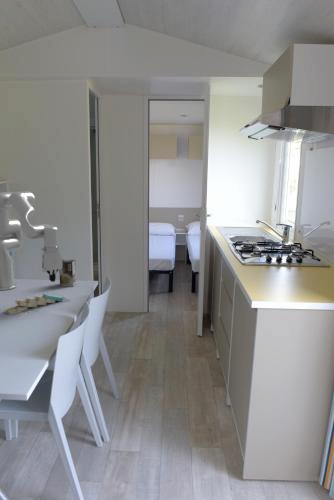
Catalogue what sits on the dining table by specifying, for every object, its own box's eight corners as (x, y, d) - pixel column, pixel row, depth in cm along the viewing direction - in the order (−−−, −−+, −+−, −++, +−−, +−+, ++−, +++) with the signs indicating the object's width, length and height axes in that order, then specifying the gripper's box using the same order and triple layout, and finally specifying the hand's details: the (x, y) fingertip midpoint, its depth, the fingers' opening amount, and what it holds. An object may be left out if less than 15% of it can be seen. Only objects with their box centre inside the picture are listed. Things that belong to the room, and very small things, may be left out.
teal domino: (58, 298, 216) (42, 296, 210) (59, 295, 217) (43, 293, 210) (62, 301, 213) (46, 299, 206) (63, 298, 213) (47, 295, 206)
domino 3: (41, 303, 210) (24, 300, 203) (42, 299, 210) (25, 297, 203) (45, 305, 206) (28, 303, 199) (46, 302, 206) (29, 299, 199)
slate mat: (19, 307, 204) (19, 306, 204) (63, 297, 221) (63, 296, 221) (25, 312, 197) (25, 311, 197) (71, 301, 214) (71, 300, 214)
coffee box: (76, 283, 246) (75, 259, 243) (73, 286, 240) (72, 262, 236) (63, 283, 247) (62, 259, 243) (59, 286, 241) (58, 261, 237)
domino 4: (50, 300, 213) (33, 298, 206) (51, 297, 213) (34, 295, 206) (54, 303, 210) (37, 301, 203) (55, 300, 210) (38, 297, 203)
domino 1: (23, 307, 203) (4, 312, 197) (23, 303, 203) (4, 309, 197) (27, 309, 200) (8, 315, 193) (27, 306, 199) (7, 311, 193)
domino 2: (32, 305, 207) (15, 302, 200) (33, 301, 207) (16, 299, 200) (36, 307, 203) (18, 305, 196) (37, 304, 203) (19, 302, 196)
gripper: (41, 252, 198) (42, 285, 202) (67, 248, 208) (68, 280, 212) (35, 249, 203) (36, 281, 208) (60, 246, 213) (61, 277, 217)
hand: (52, 280), depth 210 cm, fingers closed
